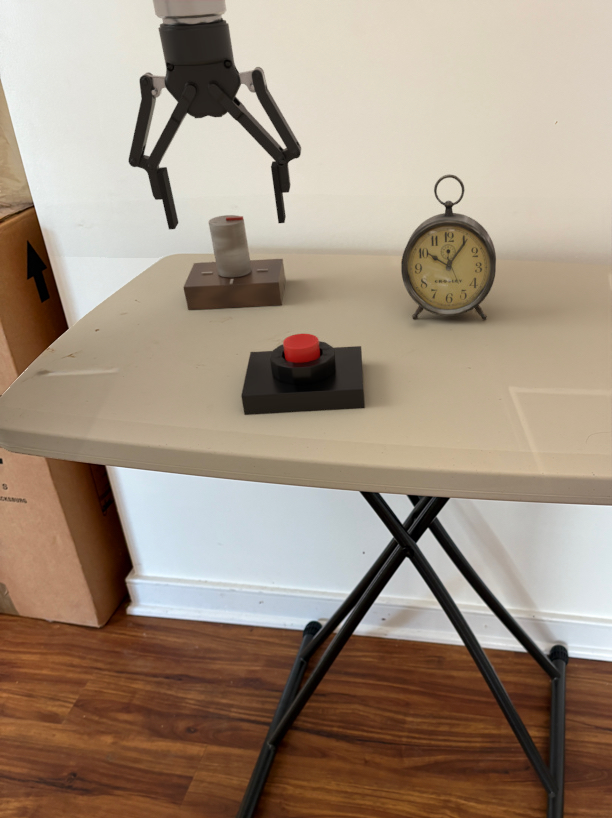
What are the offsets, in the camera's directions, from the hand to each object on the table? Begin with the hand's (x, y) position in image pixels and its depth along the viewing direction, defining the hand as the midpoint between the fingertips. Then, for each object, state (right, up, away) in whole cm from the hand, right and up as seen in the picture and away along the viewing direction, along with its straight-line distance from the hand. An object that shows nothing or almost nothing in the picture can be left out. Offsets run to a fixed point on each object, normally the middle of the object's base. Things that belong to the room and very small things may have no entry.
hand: (228, 223), depth 95 cm
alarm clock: (+28, -12, -2) cm, 31 cm away
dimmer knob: (0, -5, +4) cm, 6 cm away
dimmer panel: (0, -7, +6) cm, 9 cm away
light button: (+12, -21, -18) cm, 30 cm away
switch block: (+12, -24, -16) cm, 31 cm away
